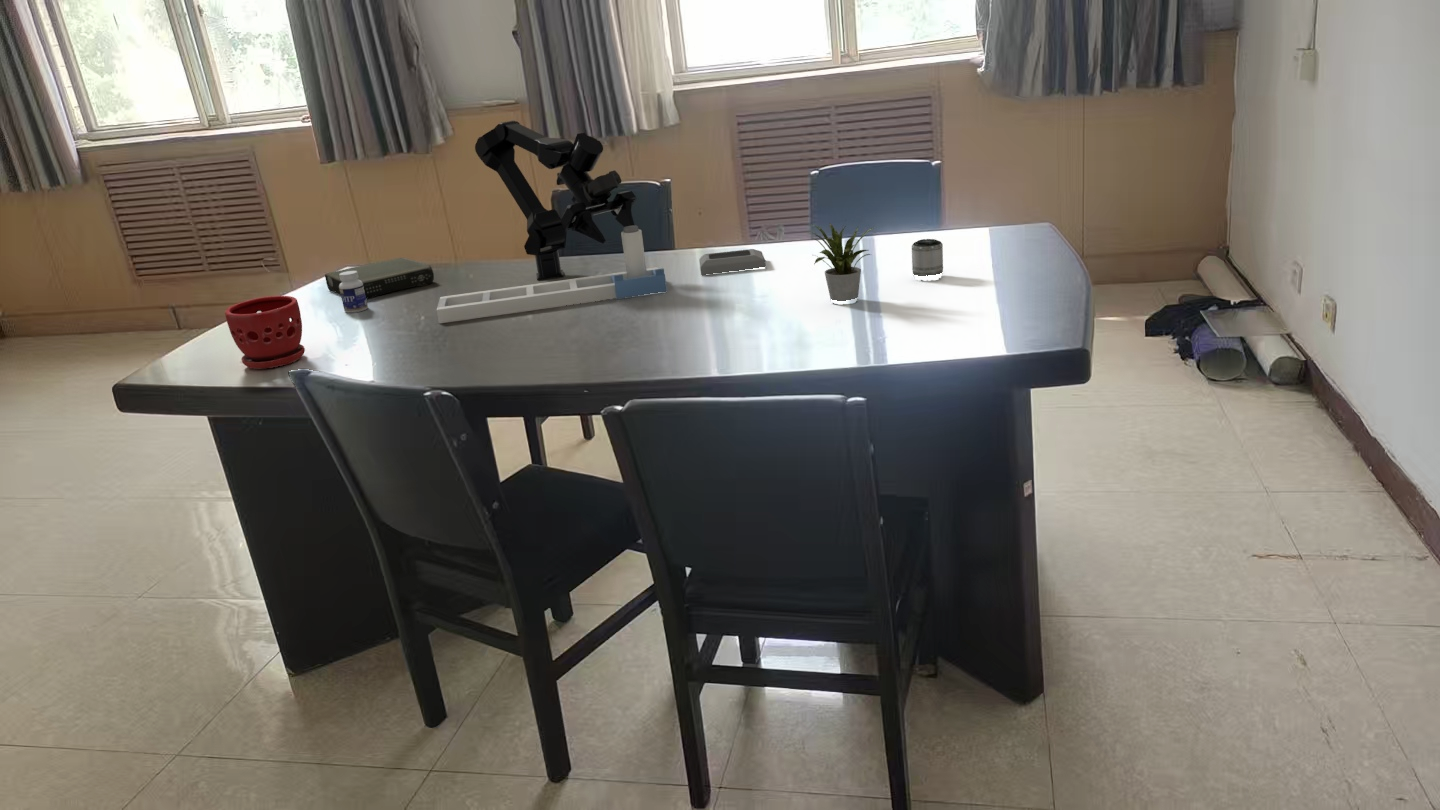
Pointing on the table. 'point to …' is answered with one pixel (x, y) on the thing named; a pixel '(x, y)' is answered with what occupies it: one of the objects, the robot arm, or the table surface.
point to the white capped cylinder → (633, 252)
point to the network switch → (386, 276)
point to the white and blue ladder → (548, 295)
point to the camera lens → (927, 257)
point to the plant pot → (267, 331)
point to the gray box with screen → (731, 261)
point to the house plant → (841, 266)
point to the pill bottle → (352, 292)
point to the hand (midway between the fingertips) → (620, 237)
